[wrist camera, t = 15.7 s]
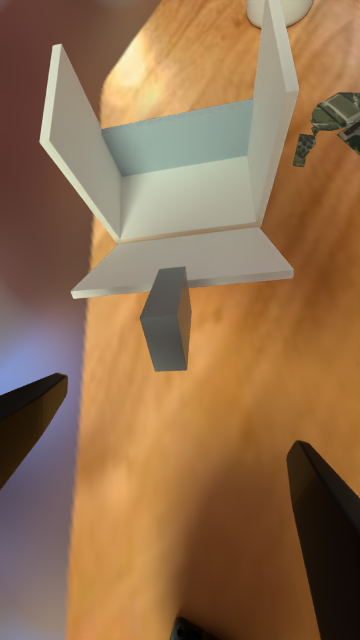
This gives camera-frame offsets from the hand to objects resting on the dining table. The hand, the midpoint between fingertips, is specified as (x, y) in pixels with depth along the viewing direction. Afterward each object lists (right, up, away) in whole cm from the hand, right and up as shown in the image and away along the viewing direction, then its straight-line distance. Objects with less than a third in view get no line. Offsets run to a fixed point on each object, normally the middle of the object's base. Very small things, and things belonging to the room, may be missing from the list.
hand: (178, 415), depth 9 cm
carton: (+1, +15, +15) cm, 22 cm away
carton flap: (+1, +11, +13) cm, 17 cm away
